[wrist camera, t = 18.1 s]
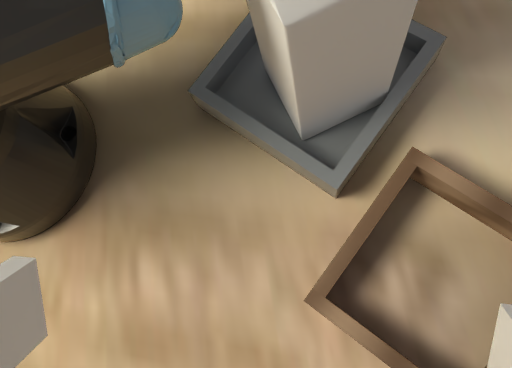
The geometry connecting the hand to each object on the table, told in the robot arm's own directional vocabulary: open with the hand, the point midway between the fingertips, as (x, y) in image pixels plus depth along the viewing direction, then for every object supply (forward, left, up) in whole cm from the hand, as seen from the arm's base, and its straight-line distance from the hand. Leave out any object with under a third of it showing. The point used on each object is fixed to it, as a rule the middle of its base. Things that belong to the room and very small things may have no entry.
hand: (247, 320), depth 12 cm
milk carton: (-8, +15, -19) cm, 25 cm away
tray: (-9, +15, -20) cm, 26 cm away
